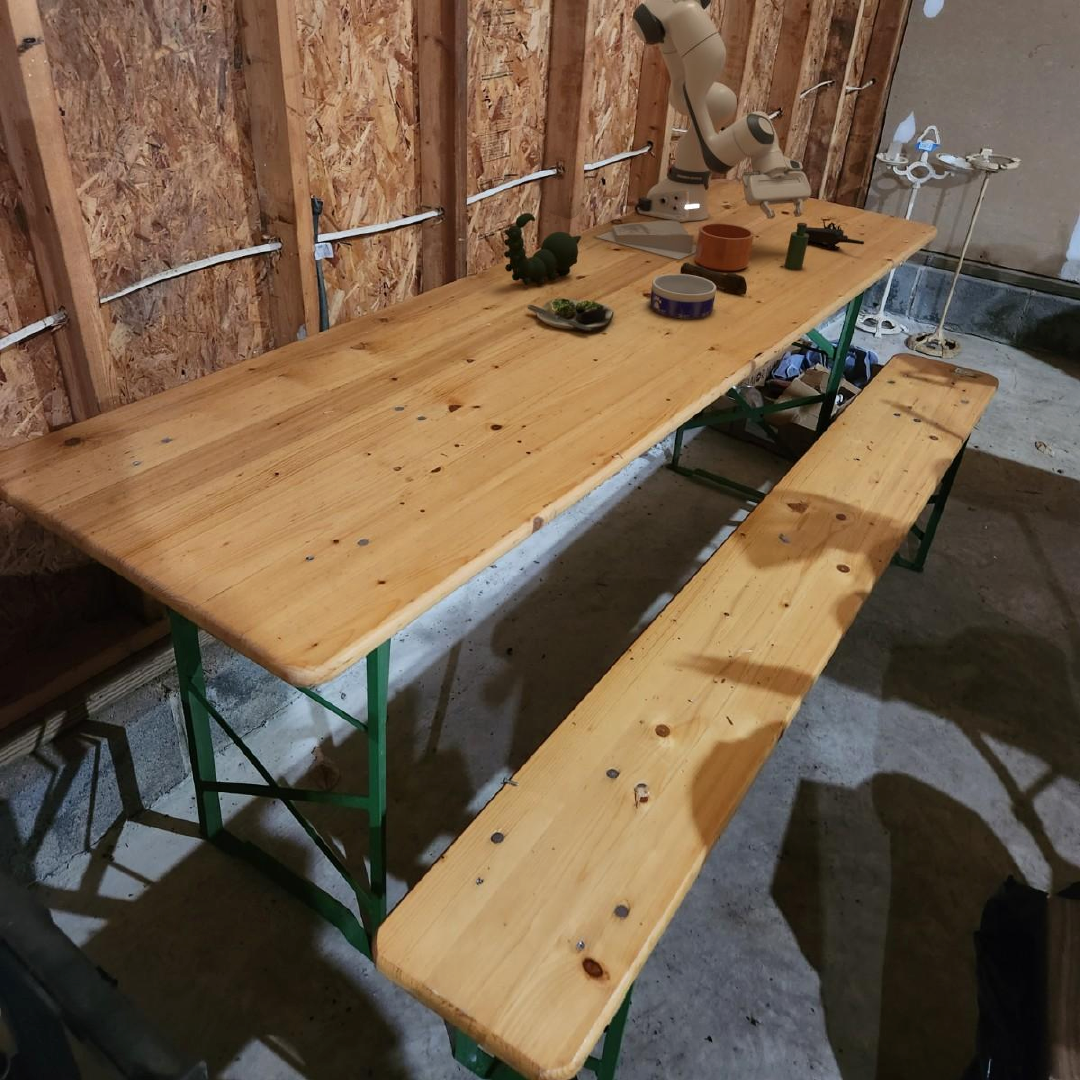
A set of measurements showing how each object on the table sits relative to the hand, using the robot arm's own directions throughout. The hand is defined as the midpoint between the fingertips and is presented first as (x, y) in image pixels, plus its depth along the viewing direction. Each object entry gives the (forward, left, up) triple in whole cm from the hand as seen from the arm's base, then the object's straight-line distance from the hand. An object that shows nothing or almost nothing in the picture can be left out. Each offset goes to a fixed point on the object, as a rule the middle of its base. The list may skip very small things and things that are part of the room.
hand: (785, 216), depth 253 cm
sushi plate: (-39, -69, -12) cm, 80 cm away
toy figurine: (-54, -46, -12) cm, 72 cm away
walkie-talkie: (+14, +20, -12) cm, 27 cm away
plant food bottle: (+5, -4, -12) cm, 14 cm away
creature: (+14, +34, -12) cm, 38 cm away
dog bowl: (-18, -50, -12) cm, 55 cm away
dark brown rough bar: (-13, -30, -12) cm, 35 cm away
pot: (-14, -11, -12) cm, 22 cm away
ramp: (-36, -1, -12) cm, 38 cm away
